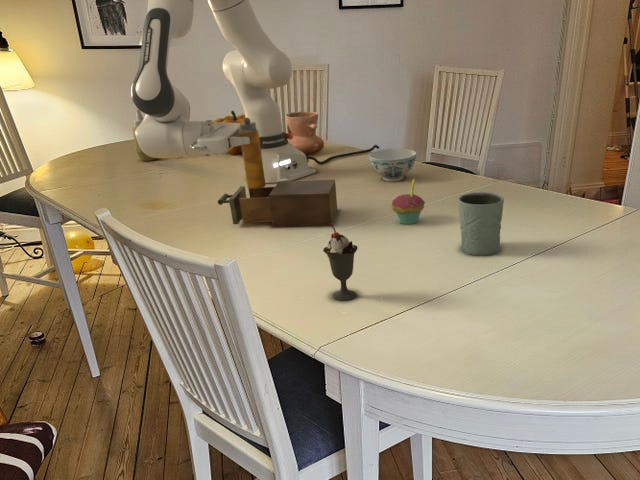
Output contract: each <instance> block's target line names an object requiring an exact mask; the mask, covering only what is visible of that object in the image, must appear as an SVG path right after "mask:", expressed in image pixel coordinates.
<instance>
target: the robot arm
mask: <svg viewBox="0 0 640 480" xmlns="http://www.w3.org/2000/svg"><path fill="white" fill-rule="evenodd" d="M207 2H208V5H209V7H210V10H211V12H212V14H213V17H214V19H215V22H216V24H217V26H218V29H219V30H220V32H221V35H222V37H224V39H225V40H226V41H227V42H228V43H230V44H231V45H232V46H233V47H234V48H235V49H233V50H231V51H229V52H227V53H226V54H225V56H224V58H223V60H222V71H223V74H224V77H225V78H226V80H228V81H229V82H230V83H231V85H232V86H233V87H234V89H235V91H236V93H237V96H238V98H239V101H240V103H241V105H242V109H243V112H244V115H245V118H249V119H250V122H255V123H256V130H258V133H259V140H260V147H261V155H262V162H263V169H264V177H265V184H273V183H274V184H275V183H278V182H279V181H296V180H299V179H301V178H304V177H306V176H310V175H313V174H315V173H316V172H317V171H316V168H315V167H313V166H311V165H309V161H310V160H312V161H314V162H315V163H316V164H318V165H325V164H326V163H328V162H329V161H331V160H334V159H339V158H343V157H349V156H354V155H361V154H367V153H371V152H373V151H374V150H375V149H377V150H380V146H379V145H377V144H374V145H373V146H372V147H371V148H368V149H363V150H358V151H352V152H346V153H341V154H337V155H332V156H329V157H327V158H326V159H324V160H322V161H320V160H318V159H317V158H316V157H314V156H311V155H305V154H304V153H303V152H302V151H300V150H298V149H297V148H295V147H294V146H292V145H291V144H289V142H288V140H289V139H291V140H292V139H293V138H294V137H293V136H294V134H293V133H288V132H287V133H286V132H284V131H283V125H282V115H281V108H280V106H279V104H278V103H277V102H276V101H275V100H274V99H273V97H272V96H271V94H270V91H269V89H273V90H274V89H278V88H281V87H285V86H286V85H287V84H288V83H289V82H290V81H291V78H292V75H293V66H292V62H291V59H290V58H289V56H288V55H287V54H286V53H284V52H283V51H281V50H280V49H279V48H278V47H277V46H276V45H275V44H274V43H273V41H272V40H271V38H269V36H268V35H267V34H266V32H265V31H264V29H263V27H262V26H261V24H260V22H259V20H258V18H257V16H256V14H255V11H254V9H253V6H252V4H251V1H250V0H207ZM194 4H195V3H194V0H147V13H146V16H145V18H144V24H143V30H142V36H141V37H142V38H141V47H140V54H139V55H140V56H139V63H138V64H139V65H138V69H137V72H136V74H135V77H134V79H133V81H132V84H131V89H130V94H131V99H132V102H133V104H134V105H135V107H136V108H137V110H140V112H142V113H143V114H144V117H143V121H142V122H141V124H140V125H139V126H138V127H137V128H136V131H135V136H136V140H137V143H138V145H139V147H140V149H141V151H142V152H143V153H144V154H146V155H147V156H149V157H154V158H157V159H177V158H180V157H186V158H209V157H210V156H211V155H225V154H228V153H227V152H228V151H229V150H230V149H231V148H233V147H234V146H239V145H245V144H250V143H251V137H250V136H243V137H240V134H239V132H240V131H241V130H240V124H239V123H225V122H216V123H214V120H212V119H209V120H208V119H207V120H191V121H190V118H191V117H190V115H191V105H190V103H189V102H190V101H189V100H188V98H187V97H186V95H185V94H184V93H183V92H182V91H181V90H180V89H179V88H177V87H176V86H175V85H174V84H173V83H172V81H171V79H170V76H169V74H168V63H169V55H170V44H171V41H172V39H175V40H176V39H180V38H183V37H184V36H187V34H189V32H191V29H192V25H193V20H194V6H195V5H194Z"/></svg>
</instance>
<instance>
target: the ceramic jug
mask: <svg viewBox="0 0 640 480" xmlns="http://www.w3.org/2000/svg"><path fill="white" fill-rule="evenodd" d="M284 116H285V120H286V130H287V131H286V132H287V133H293V134H294V136H293V137H294V138H293V139H292V140H291V139H287V140H288V142H289V144H291V145H292V146H294V147H295V148H297V149H298V150H300V151H302V152H303V153H304V154H305V155H308V156H311V155H314V154H317V153H319V152H320V151H322V150H323V148H324V146H325V141H324V140H323V139H322V138H321V137H320V136H318V135H316V130H317V128H319V126H318V121H319V113H318V112H316V111H291V112H289V113H286V114H285V115H284Z"/></svg>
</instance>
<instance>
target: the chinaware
mask: <svg viewBox="0 0 640 480" xmlns="http://www.w3.org/2000/svg"><path fill="white" fill-rule="evenodd" d="M368 158H369V162H370V164H371V167H372V169H373V170H374V171H375V172H376V173H377V174H378V175H379V176H380V177H382V180H383V181H385V182H399V181H403V180H404V179H405V176H406V175H407V174H408V173H409V172H410V171H411V170H412V168H413V167H414V164H415V162H416V159H417V151H415V150H413V149H408V148H386V149H377V150H375V151H371V152H369V154H368Z"/></svg>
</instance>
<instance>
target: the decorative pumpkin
mask: <svg viewBox="0 0 640 480" xmlns="http://www.w3.org/2000/svg"><path fill="white" fill-rule="evenodd" d="M230 114H231V115H226V116H223V118H222V117H219V118H216V119H214V120H213V121H214V123H216V122H225V123H239V124H240V123H244V119H245V114H240V115H236V113H235V111H234V110H231V111H230ZM226 154H229V155H236V154H242V147H241V145H239V146H234V147H233V148H231V149H230V150H229V151H228V152H227V153H226Z"/></svg>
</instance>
